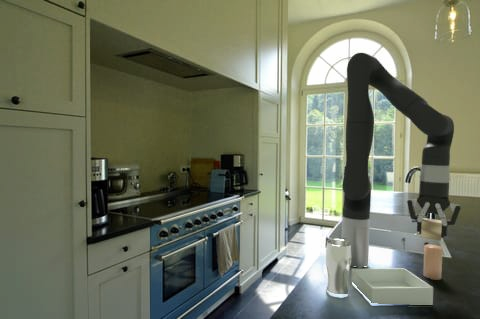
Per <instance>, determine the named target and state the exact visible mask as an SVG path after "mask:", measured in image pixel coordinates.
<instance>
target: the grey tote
mask: <svg viewBox="0 0 480 319" xmlns="http://www.w3.org/2000/svg"><path fill="white" fill-rule="evenodd" d="M352 282H353V283H354V284H355V285H356V286H357V288H358V289H359V290H360V291H361V292H362V293H363V294H364V295H365V296H366V297H367V298H368V299H369V300H370V301H371V303H378V304H410V305H434V304H433V302H434V286H432V285H431V284H428V282H426V281H424V280H422V279H421V278H420V277H418V276H417V275H416V274H414V273H413V272H411V271H410V270H408V269H406V268H403V267H401V268H399V267H397V268H392V267H391V268H389V267H388V268H387V267H386V268H380V267H379V268H351V283H352Z"/></svg>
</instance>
